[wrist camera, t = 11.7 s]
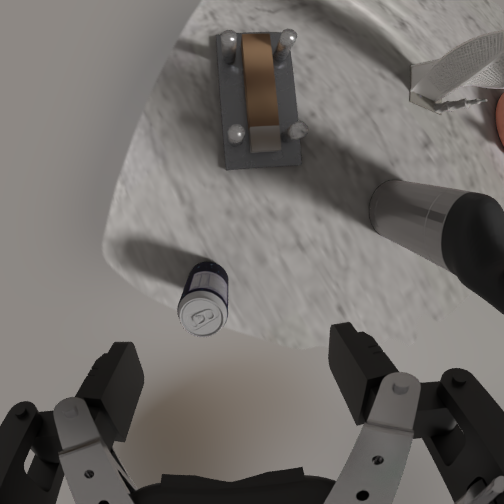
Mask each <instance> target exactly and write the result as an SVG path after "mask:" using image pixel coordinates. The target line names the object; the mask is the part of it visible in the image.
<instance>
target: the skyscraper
mask: <svg viewBox="0 0 504 504" xmlns="http://www.w3.org/2000/svg"><path fill="white" fill-rule="evenodd" d="M464 86H476V87H483V88H492V89H504V30H502V31H497V32H492V33H488V34H484V35H481V36H478V37H475V38H473V39H470V40H468V41H466V42H464V43H462V44H461V45H459V46H457V47H455V48H454V49H452V50H451V51H450V52H448V53H447V54H446V55H444V56H443V57H442V58H441V59H438V60H433V61H428V62H423V63H418V64H414V65H410V102H412V103H414V104H417V105H419V106H421V107H424V108H426V109H428V110H431V111H433V112H435V113H437V114H439V115H441V113H442V112H445V111H451V112H452V111H453V110H456V109H459V108H469V107H470V105H473V104H480V102H486V101H487V99H484V100H479V99H475V100H468V99H466V98H465V99H462V100H459V101H450V102H449V101H447V102H444V103H442V98H443V97H445V96H447V95H449V94H450V93H452V92H453V91H455V90H457V89H458V88H460V87H464Z"/></svg>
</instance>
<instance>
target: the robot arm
mask: <svg viewBox="0 0 504 504" xmlns="http://www.w3.org/2000/svg"><path fill="white" fill-rule="evenodd" d="M369 213H370V219H371V223H372V225H373V227H374V229H375V230H376V231H377V232H378V233H379V234H380V235H381V236H383V237H385V238H387V239H389V240H391V241H393V242H395V243H397V244H399V245H401V246H403V247H405V248H407V249H408V250H410V251H412V252H414V253H416V254H418V255H420V256H422V257H424V258H425V259H427V260H429V261H431V262H433V263H435V264H436V265H438V266H440V267H442V268H444V269H446V270H448V271H449V272H451V273H453V274H455V275H456V276H457V277H458V279H459V280H460V281H461V283H462V284H463V285H465V286H466V287H467V288H469V289H470V290H472V291H473V292H475V293H476V294H478V295H479V296H480V297H482V298H483V299H484V300H486V301H487V302H488V303H489V304H491V305H492V306H493V307H495V308H496V309H497V310H498V311H500V312H501V313H502V314H504V211H503V209H502V207H501V206H500V204H499V203H498V202H497V201H496V200H495V199H493V198H492V197H490V196H488V195H485V194H480V193H475V192H469V191H464V190H458V189H452V188H446V187H440V186H433V185H427V184H420V183H413V182H407V181H399V180H391V181H387V182H385V183H383V184H382V185H380V186H379V187H378V188H377V190H376V191H375V192H374V194H373V196H372V198H371V202H370V208H369ZM328 356H329V357H328V359H329V366H330V369H331V371H332V374H333V376H334V378H335V380H336V382H337V384H338V386H339V388H340V391H341V393H342V395H343V397H344V399H345V401H346V403H347V406H348V408H349V410H350V412H351V414H352V417H353V419H354V421H355V423H356V425H361V424H364V425H363V427H362V430H361V432H360V434H359V436H358V439H357V441H356V443H355V445H354V447H353V449H352V452H351V454H350V456H349V458H348V460H347V462H346V464H345V466H344V468H343V470H342V472H341V474H340V475H339V477H338V479H337V481H334V480H331V479H328V478H324V477H319V476H308V475H304V472H303V468H302V467H299V468H293V469H287V470H280V471H272V472H266V473H263V474H259V475H256V476H253V477H249V478H246V479H242V480H238V481H234V482H226V481H219V480H214V479H209V478H204V477H199V476H192V475H169V474H162V478H161V483H156V484H152V485H148V486H145V487H143V488H140V489H138V488H137V487H136V486H135V484H134V483H133V481H132V480H131V478H130V476H129V475H128V473H127V471H126V469H125V468H124V466H123V464H122V463H121V461H120V459H119V457H118V455H117V454H116V452H115V450H114V448H113V447H112V446H113V443H114V441H119V442H125V441H126V437H127V434H128V431H129V428H130V424H131V421H132V418H133V415H134V412H135V409H136V406H137V403H138V400H139V397H140V394H141V391H142V388H143V385H144V374H143V370H142V367H141V364H140V361H139V358H138V355H137V352H136V349H135V346H134V344H133V343H132V342H114V343H113V345H112V347H111V348H110V350H109V352H108V353H104V354H103V355H102V356H101V357H100V358H98V359H97V360H96V361H95V363H94V365H93V366H92V370H90V372H89V373H88V376H87V377H86V378H85V380H84V382H83V383H82V385H81V387H80V389H79V391H78V392H77V394H76V396H75V397H70V398H66V399H64V400H62V401H60V402H59V403H58V404H57V405H56V406H55V408H54V411H44V412H38V410H37V408H36V407H35V405H34V404H33V403H31V402H28V401H24V402H20V403H18V404H16V405H14V406H13V407H12V408H11V410H10V411H9V412H8V414H7V416H6V417H5V419H4V421H3V422H2V424H1V426H0V504H56V501H57V497H58V494H59V490H60V487H61V484H62V481H63V477H64V474H65V477H66V480H67V482H68V485H69V488H70V491H71V493H72V495H73V498H74V501H75V503H76V504H392V502H393V499H394V497H395V494H396V491H397V489H398V486H399V483H400V480H401V477H402V474H403V471H404V468H405V465H406V461H407V458H408V454H409V451H410V447H411V443H412V439H416V438H422V439H423V441H424V443H425V445H426V446H427V448H428V450H429V452H430V454H431V456H432V458H433V460H434V462H435V464H436V466H437V468H438V470H439V472H440V474H441V476H442V478H443V480H444V482H445V484H446V486H447V488H448V490H449V492H450V494H451V496H452V499H453V501H454V504H504V411H503V410H502V409H501V408H500V406H499V405H498V404H497V403H496V402H495V400H494V399H493V398H492V397H491V396H490V394H489V393H488V392H487V391H486V390H485V389H484V387H483V386H482V385H481V384H480V383H479V381H478V380H477V379H476V378H475V377H474V376H473V375H472V374H471V373H470V372H468V371H467V370H464V369H460V368H452V369H449V370H447V371H445V372H444V374H443V375H442V377H441V380H440V381H438V382H426V383H420V382H419V380H418V379H417V378H416V377H415V376H413V375H411V374H408V373H404V372H399V371H398V370H397V368H396V367H395V366H394V364H393V363H392V362H391V361H390V359H389V358H388V356H387V355H386V354H385V353H384V352H383V350H382V349H381V347H380V346H378V343H377V342H376V341H375V340H374V338H373V337H372V336H370V335H368V334H366V333H365V332H357V331H356V330H355V328H354V327H353V325H352V324H351V323H350V322H346V323H340V324H334V325H331V327H330V339H329V354H328ZM458 425H459V426H458ZM460 428H461V429H460ZM462 431H463V432H462ZM30 449H31V450H32V451H33V452H34V453H35V456H34V458H33V461H32V463H31V465H30V468H29V471H28V473H27V474H26V472H25V470H24V462H25V459H26V457H27V455H28V452H29V450H30Z"/></svg>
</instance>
